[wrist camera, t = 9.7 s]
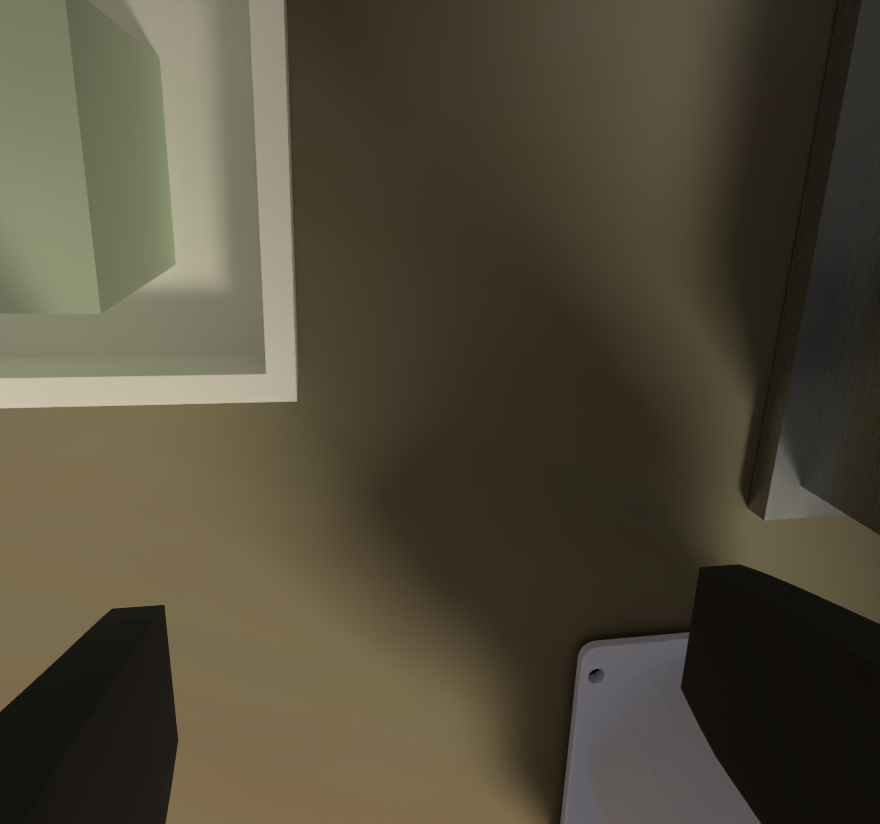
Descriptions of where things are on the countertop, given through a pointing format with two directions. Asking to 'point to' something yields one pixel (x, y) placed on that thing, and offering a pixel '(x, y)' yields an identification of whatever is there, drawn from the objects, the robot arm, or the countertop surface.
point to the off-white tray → (192, 233)
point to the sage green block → (79, 161)
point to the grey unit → (832, 305)
